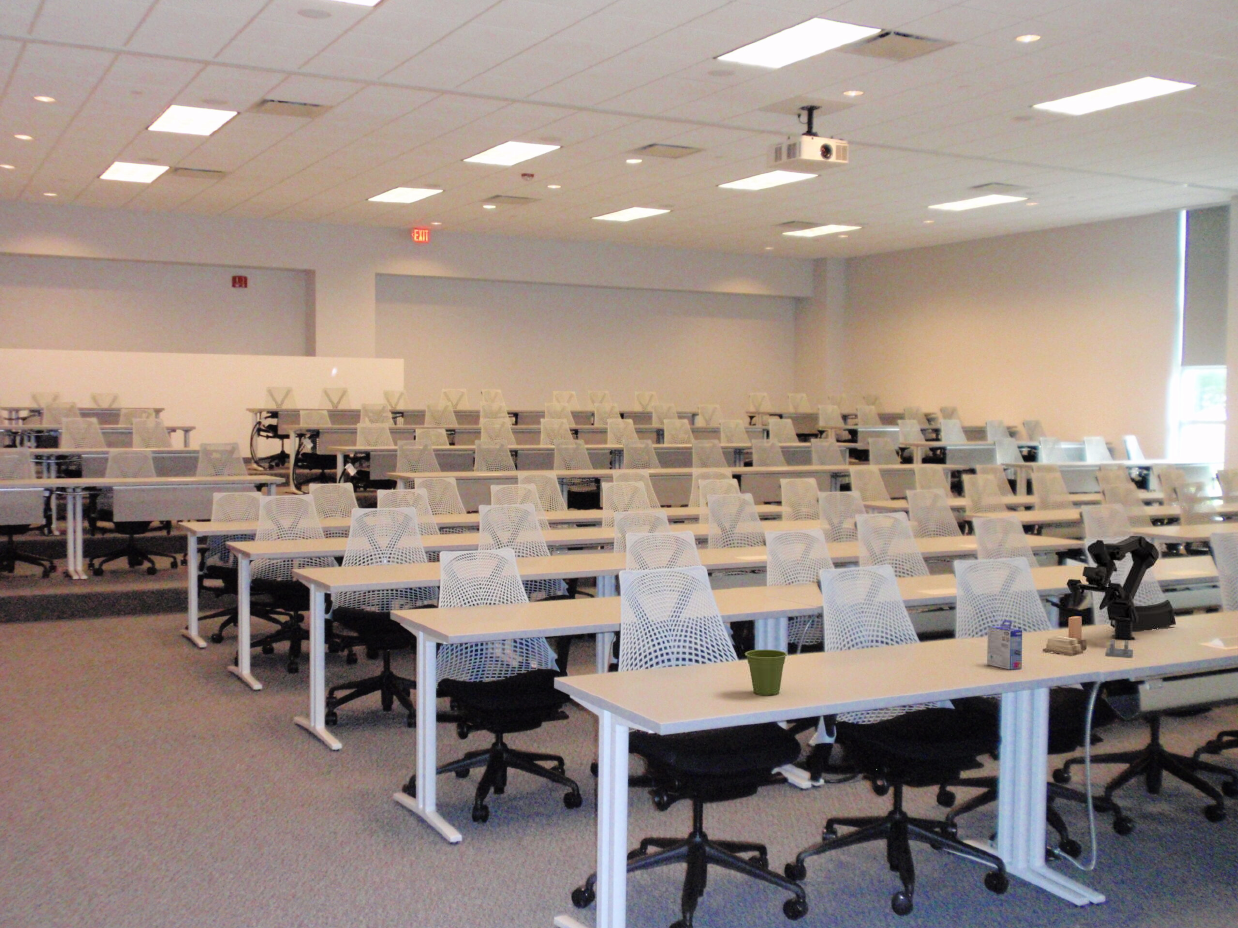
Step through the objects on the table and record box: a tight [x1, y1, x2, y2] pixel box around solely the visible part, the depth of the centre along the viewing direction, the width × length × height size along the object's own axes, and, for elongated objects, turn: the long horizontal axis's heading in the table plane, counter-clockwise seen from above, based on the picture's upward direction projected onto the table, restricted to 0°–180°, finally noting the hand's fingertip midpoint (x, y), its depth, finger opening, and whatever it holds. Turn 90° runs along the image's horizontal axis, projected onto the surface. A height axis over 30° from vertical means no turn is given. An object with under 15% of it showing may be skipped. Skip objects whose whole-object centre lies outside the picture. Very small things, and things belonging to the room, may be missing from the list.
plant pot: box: [744, 649, 788, 697], centre depth 320 cm, size 12×12×11 cm
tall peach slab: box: [1068, 615, 1083, 640], centre depth 384 cm, size 5×2×11 cm, turn 130°
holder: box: [1104, 639, 1134, 659], centre depth 376 cm, size 10×8×4 cm
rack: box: [1042, 635, 1088, 657], centre depth 382 cm, size 15×10×5 cm, turn 130°
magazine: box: [1110, 599, 1177, 632], centre depth 424 cm, size 17×3×30 cm
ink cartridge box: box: [986, 619, 1023, 670], centre depth 356 cm, size 10×6×14 cm, turn 27°
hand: (1086, 607), depth 389 cm, fingers open, 9 cm apart
